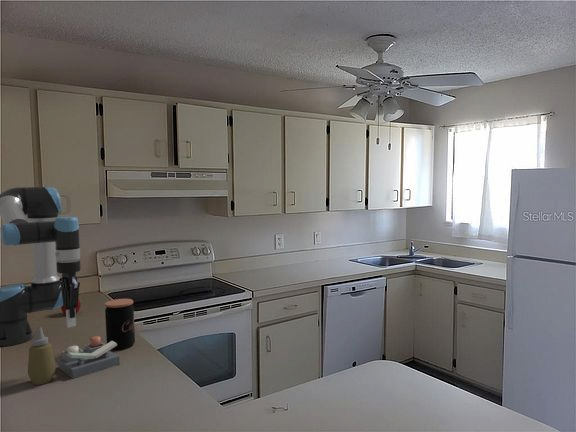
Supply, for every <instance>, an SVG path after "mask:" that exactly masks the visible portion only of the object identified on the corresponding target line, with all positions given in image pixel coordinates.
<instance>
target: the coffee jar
mask: <svg viewBox="0 0 576 432" xmlns="http://www.w3.org/2000/svg"><path fill="white" fill-rule="evenodd" d="M133 304H134V300H133V299H131V298H116V299H112V300H108V301H106V302H105V303H104V306H105V310H104V315H105V317H104V318H105V334H106V335H105V337H106V344H107V343H109V342H111V341H113V342H115V343H117V346H115V347H114V348H112V349H111V350H110V351H121V350H126V349H129V348H132V347H133V346H134V344H135V342H136V335H135V333H136V332H135V331H136V330H135V311H134V310H135V309H134V305H133Z"/></svg>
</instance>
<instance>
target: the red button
mask: <svg viewBox="0 0 576 432" xmlns="http://www.w3.org/2000/svg"><path fill="white" fill-rule="evenodd" d="M101 342H102V337H101V336H100V335H94V336H90V337H89V344H90V347H91V348H95V347H99V346H101Z"/></svg>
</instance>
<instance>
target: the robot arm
mask: <svg viewBox="0 0 576 432" xmlns="http://www.w3.org/2000/svg"><path fill="white" fill-rule="evenodd" d="M62 205H63V204H62V200H61V195H60V193H59V191H58V190H57V188H56V187H51V186H50V187H49V186H36V187H35V186H34V187H32V186H31V187H30V186H29V187H27V186H26V187H25V186H24V187H20V186H19V187H13V188H9V189H6V190H4V191H3V192H1V193H0V217H1V220H2V223H3V224H2V225H1V226H0V237H1V242H2V244H3V245H4V246H20V245H21V246H22V245H30V244H32V253H33V270H34V271H33V272H34V277H33V278H32V279H31V280H30V285H26V284H25V283H24V282H19V283H13V284H8V285H5V286H4V285H3V286H2V287H0V347H8V346H14V345H15V346H16V345H19V344H23V343H26V342H28V341H30V340H33V339H34V331H33V329H32V327H31V325H30V323H29V321H28V314H33V313H37V312H38V313H39V312H44V311H49V310H50V311H51V310H55V309H61V307H62V305H65V308H66V314H65V320H66V328H68V329H69V328H72V327H76V326H77V315H76V314H77V313H76V310H75V308H77V307H78V299H79V296H80V295H79V294H80V285H81V283H80V282H79V281H78V277H77V274H76V273H77V272H80V271H81V269H82V268H81V260H80V259H81V247H80V225H79V218H78V217H76V216H58V215H59V214H61V213H62V211H63V210H62V207H63V206H62ZM58 274H61V277H60V276H58Z"/></svg>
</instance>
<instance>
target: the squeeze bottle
mask: <svg viewBox="0 0 576 432" xmlns="http://www.w3.org/2000/svg"><path fill="white" fill-rule="evenodd" d="M35 333H36V334H35V338H34V337H33V338H32V339H31V343H32V344H31V346H30V347H29V348H28V363H27V374H28V376H29V379H30V381H31V384H32V385H44V384H48V383H49V382H51V381H53V378H54V376H55V372H56V363H55V357H54V351H53V345H52V344H51V343H50V342H49V337H48V336H45V334H44V330H43V328H42V327H41V326H40V327H37V328H36V332H35Z"/></svg>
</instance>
